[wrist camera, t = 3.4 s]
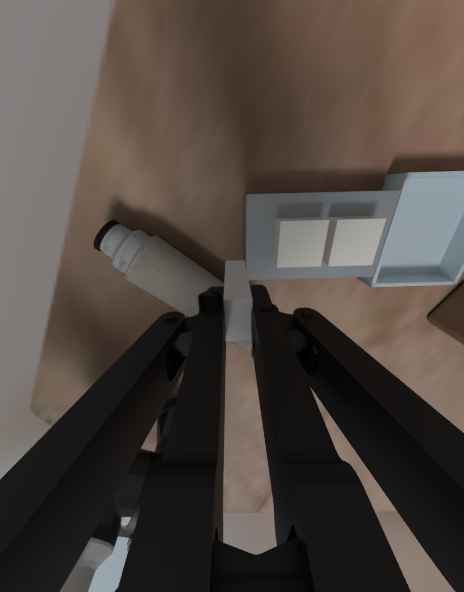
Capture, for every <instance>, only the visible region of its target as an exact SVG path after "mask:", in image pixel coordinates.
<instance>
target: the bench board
mask: <svg viewBox="0 0 464 592" xmlns="http://www.w3.org/2000/svg"><path fill="white" fill-rule="evenodd" d="M400 193H401V190H390V191H345V192H306V193H267V194H244V262H245V266H246V271H247V276H248V280H272V279H310V278H348V277H373V276H374V273H375V270H376V267H377V264H378V260H379V257H380V254H381V251H382V248H383V245H384V242H385V239H386V236H387V233H388V230H389V227H390V223H391V220H392V217H393V214H394V211H395V208H396V205H397V202H398V199H399V196H400ZM346 216H375V217H381V218H387V219H386V222H385V225H384V228H383V231H382V235H381V238H380V241H379V244H378V247H377V251H376V254H375V257H374V260H373V263H372V265H360V266H327V265H326V264H324V263H323V262H322V263H321V267H284V268H277V267H276V265H275V264H274V262H273V249H274V236H275V222H276V218H308V217H321V218H325V219H327V217H346Z"/></svg>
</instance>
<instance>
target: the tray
mask: <svg viewBox="0 0 464 592" xmlns="http://www.w3.org/2000/svg"><path fill="white" fill-rule="evenodd" d="M390 190H401V193H400V196H399V199H398V202H397V205H396V208H395V211H394V214H393V217H392V220H391V223H390V227H389V230H388V233H387V236H386V239H385V242H384V245H383V248H382V251H381V254H380V257H379V260H378V264H377V267H376V270H375V273H374V276H373V277H357V278H358V279H359V280H361V281H362V282H364V283H365V284H367V285H368V286H370V287H389V286H427V285H456V284H457V282H458V280H459V278H460V276H461V274H462V273H463V271H464V171H447V172H408V173H399V174H390V175H386V177H385V180H384V184H383V187H382V191H390Z"/></svg>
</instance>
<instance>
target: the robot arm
mask: <svg viewBox="0 0 464 592" xmlns="http://www.w3.org/2000/svg"><path fill="white" fill-rule="evenodd" d="M198 304H199V313H198V314H197V315H195V316H191V317H187V318H185V317H184V314H182V313H180V312H168V313H166V314H163V315H162V316H160V317H159V318H158V319H157V320H156V321H155V322H154V323H153V324H152V325H151V326H150V327H149V328H148V329H147V330H146V331H145V332H144V333H143V334H142V335H141V336H140V337H139V339H138V340H137V341H136V342H135V343H134V344H133V345H132V346H131V347H130V348H129V349H128V350H127V351H126V352H125V353H124V354H123V355H122V356H121V357H120V358H119V359H118V360H117V361H116V362H115V363H114V364H113V365H112V366H111V367H110V368H109V369H108V370H107V371H106V372H105V373H104V374H103V375H102V376H101V377H100V378H99V379H98V380H97V381H96V382H95V383H94V384H93V385H92V386H91V388H90V389H89V390H88V391H87V392H86V393H85V394H84V395H83V396H82V397H81V398H80V399H79V400H78V401H77V402H76V403H75V404H74V405H73V406H72V407H71V408H70V409H69V410H68V411H67V412H66V413H65V414H64V415H63V416H62V417H61V418H60V419H59V420H58V421H57V422H56V423H55V424H54V425H53V426H52V427H51V429H49V430H48V431H47V433H45V434H44V436H43V437H42V438H41V439H40V440H39V441H38V442H37V443H36V444H35V445H34V446H33V447H32V448H31V449H30V450H29V451H28V452H27V453H26V454H25V455H24V456H23V457H22V458H21V459H20V460H19V461H18V462H17V463H16V464H15V465H14V466H13V467H12V468H11V469H10V470H9V471H8V472H7V473H6V474H5V475H4V476H3V477H2V478H1V479H0V592H88V590H89V587H90V584H91V582H92V579H93V576H94V573H95V571H96V569H97V568H98V567H99V565H100V564H101V563H102V562H103V561H104V560H106V559H107V557H109V556H110V555H111V554H112V552H113V549H114V546H115V543H116V540H117V537H118V536H121V537H128V538H129V540H128V543H127V545H128V549H127V551H128V554H127V558H126V561H125V565H124V568H123V572H122V576H121V579H120V583H119V586H118V588H117V589H116V591H115V592H411V591H410V589H409V587H408V584H407V582H406V580H405V578H404V576H403V573H402V571H401V569H400V567H399V565H398V562H397V560H396V558H395V556H394V554H393V551H392V549H391V547H390V545H389V542H388V540H387V538H386V536H385V533H384V531H383V529H382V527H381V525H380V522H379V520H378V518H377V516H376V514H375V511H374V509H373V507H372V505H371V502H370V500H369V498H368V496H367V494H366V491H365V489H364V487H363V485H362V483H361V481H360V479H359V477H358V475H357V473H356V471H355V470H354V469H353V468H352V466H351V465H350V464H349V463H347V462H345V461H343V460H342V459H341V458H340V457H339V455H338V453H337V451H336V449H335V447H334V444H333V442H332V439H331V437H330V435H329V432H328V430H327V427H326V425H325V422H324V420H323V417H322V415H321V413H320V410H319V408H318V405H317V403H316V400H315V398H314V395H313V393H312V391H311V388H312V390H313V391H314V393H315V394H316V395H317V397H318V398H319V400H320V401H321V403H322V404H323V405H324V407H325V408H326V410H327V411H328V413H329V414H330V416H331V417H332V418H333V420H334V421H335V423H336V424H337V426H338V427H339V428H340V430H341V431H342V433H343V434H344V436H345V437H346V438H347V440H348V441H349V443H350V444H351V446H352V447H353V448H354V450H355V451H356V453H357V454H358V456H359V457H360V458H361V460H362V461H363V463H364V464H365V466H366V467H367V469H368V470H369V471H370V473H371V474H372V476H373V477H374V479H375V480H376V481H377V483H378V484H379V486H380V487H381V489H382V490H383V491H384V493H385V494H386V496H387V497H388V499H389V500H390V501H391V503H392V504H393V506H394V507H395V509H396V510H397V511H398V513H399V514H400V516H401V517H402V519H403V520H404V521H405V523H406V524H407V526H408V527H409V528H410V530H411V532H412V533H413V534H414V536H415V537H416V539H417V540H418V542H419V543H420V544H421V546H422V547H423V549H424V550H425V552H426V553H427V554H428V556H429V557H430V558H431V560H432V561H433V562H434V564H435V565H436V567H437V568H438V569H439V571H440V572H441V573H442V575H443V576H444V577H445V579H446V580H447V581H448V583H449V584H450V585H451V586H452V588H453V589H454V590H455V591H456V592H464V433H463V432H462V431H460V430H459V429H458V428H457V427H456V426H454V425H453V424H452V423H451V422H450V421H448V420H447V419H446V418H445V417H444V416H442V415H441V414H440V413H439V412H438V411H436V410H435V409H434V408H433V407H432V406H430V405H429V404H428V403H427V402H426V401H424V400H423V399H422V398H421V397H420V396H418V395H417V394H416V393H415V392H414V391H412V390H411V389H410V388H409V387H408V386H406V385H405V384H404V383H403V382H402V381H400V380H399V379H398V378H397V377H396V376H394V375H393V374H392V373H391V372H390V371H388V370H387V369H386V368H385V367H384V366H382V365H381V364H380V363H379V362H378V361H376V360H375V359H374V358H373V357H372V356H370V355H369V354H368V353H367V352H366V351H364V350H363V349H362V348H361V347H360V346H358V345H357V344H356V343H355V342H354V341H352V340H351V339H350V338H349V337H348V336H346V335H345V334H344V333H343V332H342V331H340V330H339V329H338V328H337V327H336V326H334V325H333V324H332V323H331V322H330V321H328V320H327V319H326V318H325V317H324V316H322V315H321V314H320V313H319V312H317V311H315V310H313V309H310V308H298V309H296V310H295V311H294V314H293V315H292V314H286V313H282V312H279V310H278V308H277V306H276V305H274V304H272V302H271V299H270V297H269V294H268V291H267V289H266V287H264V286H263V285H249V280H248V276H247V271H246V266H245V262H244V260H239V261H226V262H225V279H224V286H215V287H210V288H209V289H207V291H205V292H202V293H200V294H199V295H198ZM251 336H252V357H253V359H254V366H255V373H256V380H257V387H258V395H259V402H260V409H261V416H262V423H263V430H264V438H265V445H266V452H267V459H268V466H269V474H270V481H271V488H272V495H273V503H274V519H275V532H276V542H277V547H274V548H272V549H270V550H268V551H266V552H264V553H262V554H258V555H254V554H251V553H248V552H245V551H243V550H241V549H238V548H236V547H233V546H230V545H228V544H225V543H223V471H224V418H225V365H226V341H251ZM183 371H184V373H183ZM182 373H183V377H182V381H181V385H180V389H179V393H178V397H177V398H175V399H172V400H169V401H167V400H168V398H169V396H170V394H171V393H172V391H173V389H174V387H175V385H176V384H177V382H178V380H179V378H180V376H181V375H182ZM309 385H310V386H309ZM310 387H311V388H310ZM156 420H157V446H156V450H155V452H152V451H149V450H145V449H141V447H142V445H143V443H144V441H145V439H146V438H147V436H148V434H149V432H150V430H151V429H152V427H153V425H154V423H155V421H156Z"/></svg>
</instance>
